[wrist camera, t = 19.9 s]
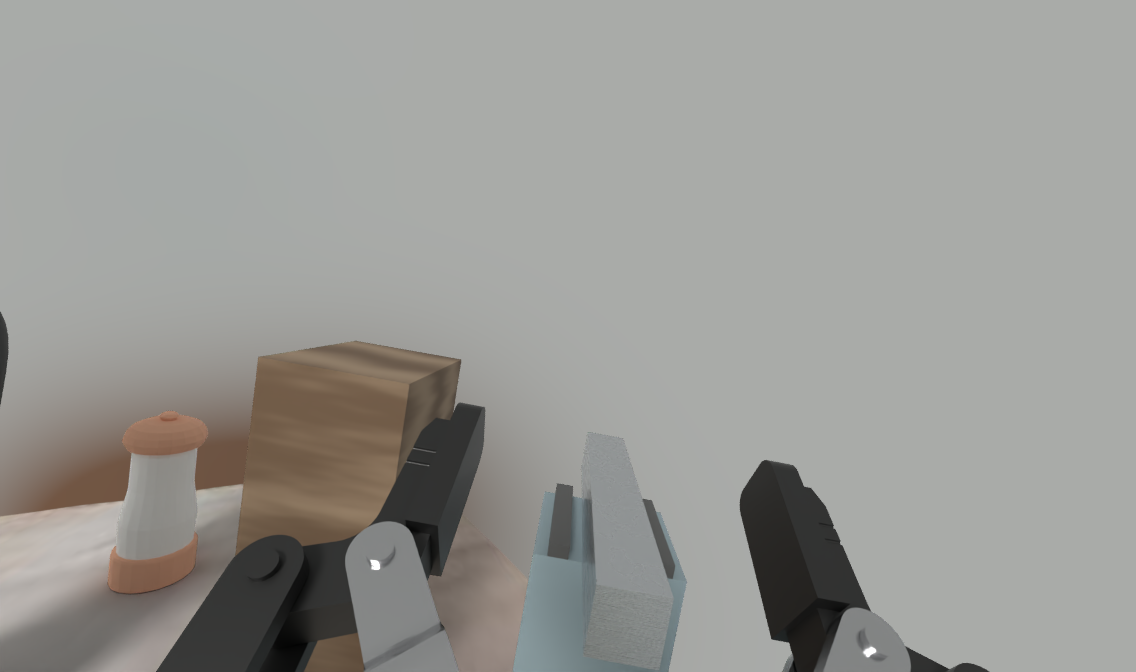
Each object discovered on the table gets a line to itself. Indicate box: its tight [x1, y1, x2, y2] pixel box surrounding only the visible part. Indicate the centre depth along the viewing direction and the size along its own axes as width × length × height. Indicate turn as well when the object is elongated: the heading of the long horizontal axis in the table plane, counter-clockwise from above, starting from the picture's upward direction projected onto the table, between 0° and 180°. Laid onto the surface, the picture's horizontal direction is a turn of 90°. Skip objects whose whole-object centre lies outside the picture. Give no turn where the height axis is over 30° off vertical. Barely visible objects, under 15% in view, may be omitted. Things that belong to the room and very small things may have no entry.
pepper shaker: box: [108, 411, 208, 594], centre depth 49 cm, size 7×7×19 cm
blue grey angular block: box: [513, 484, 687, 672], centre depth 36 cm, size 10×11×22 cm
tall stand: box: [235, 341, 461, 672], centre depth 35 cm, size 14×11×32 cm
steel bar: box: [582, 432, 674, 671], centre depth 35 cm, size 26×4×4 cm, turn 178°
